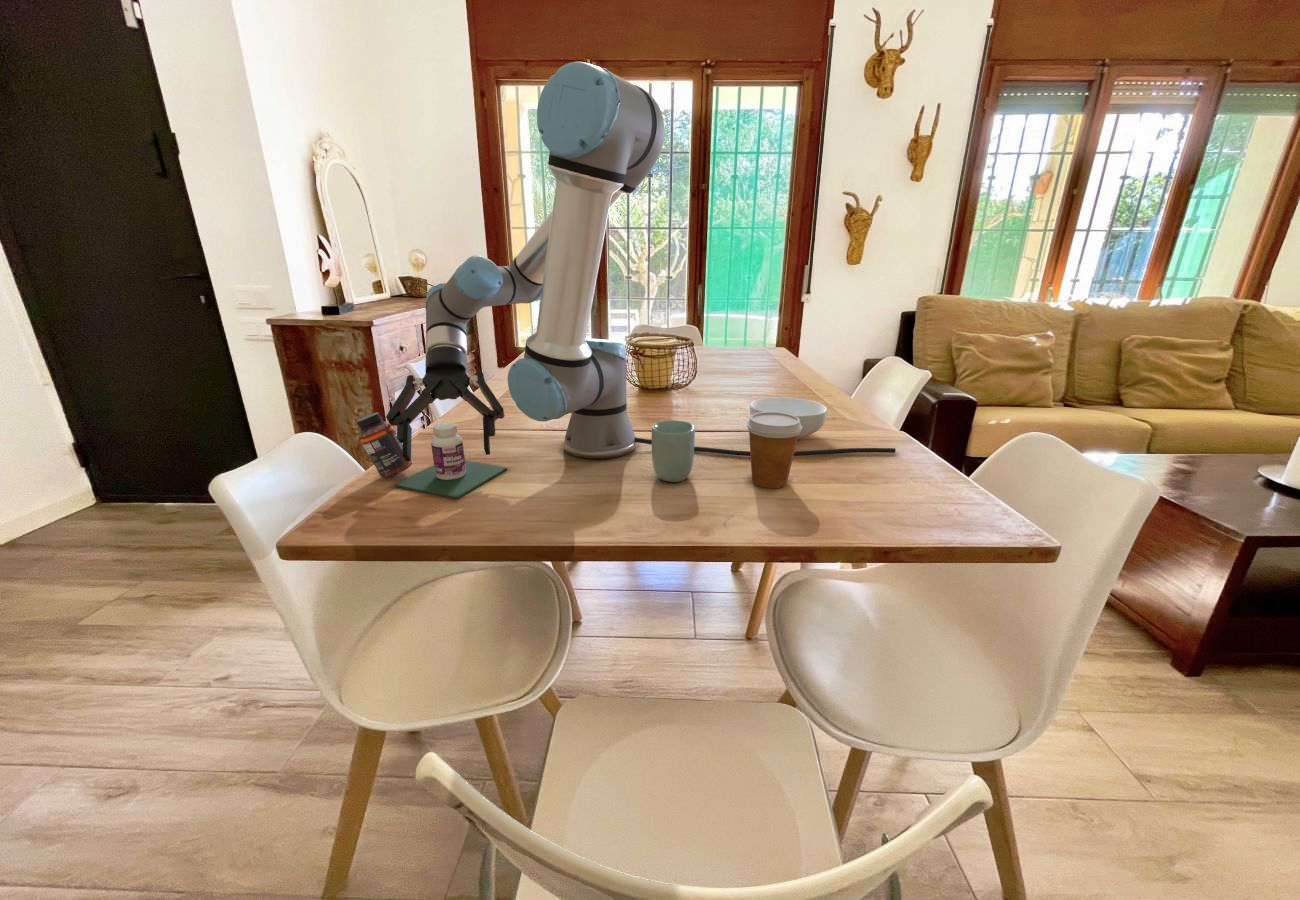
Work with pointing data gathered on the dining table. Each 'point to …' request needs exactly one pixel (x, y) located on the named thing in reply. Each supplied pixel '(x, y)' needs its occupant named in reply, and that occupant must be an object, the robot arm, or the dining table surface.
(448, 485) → the green mat
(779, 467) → the disposable coffee cup
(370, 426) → the supplement bottle
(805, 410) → the cereal bowl
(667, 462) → the cup
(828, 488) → the dining table surface
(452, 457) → the pill bottle
